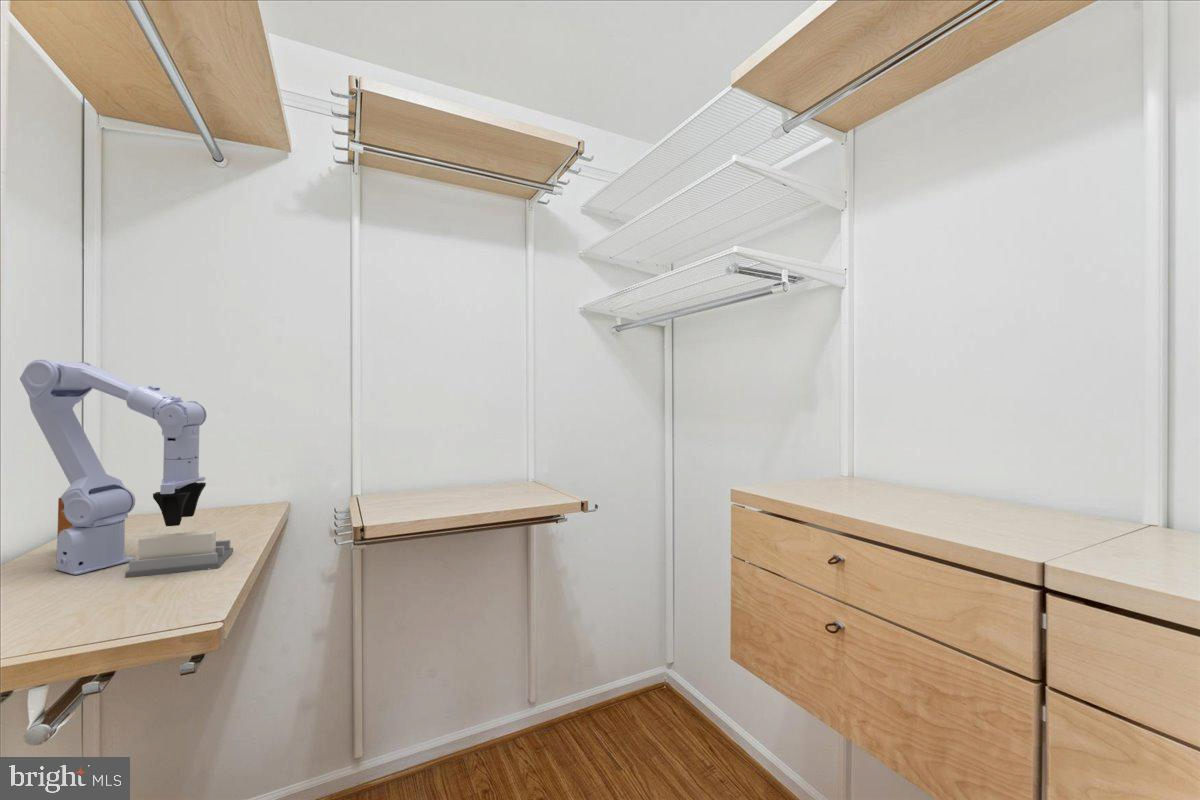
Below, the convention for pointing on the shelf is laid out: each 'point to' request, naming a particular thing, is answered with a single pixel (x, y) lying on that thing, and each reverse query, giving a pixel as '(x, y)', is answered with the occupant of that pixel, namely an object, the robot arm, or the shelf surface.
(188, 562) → the ridged grey tray
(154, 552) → the long beige block
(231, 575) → the shelf surface
